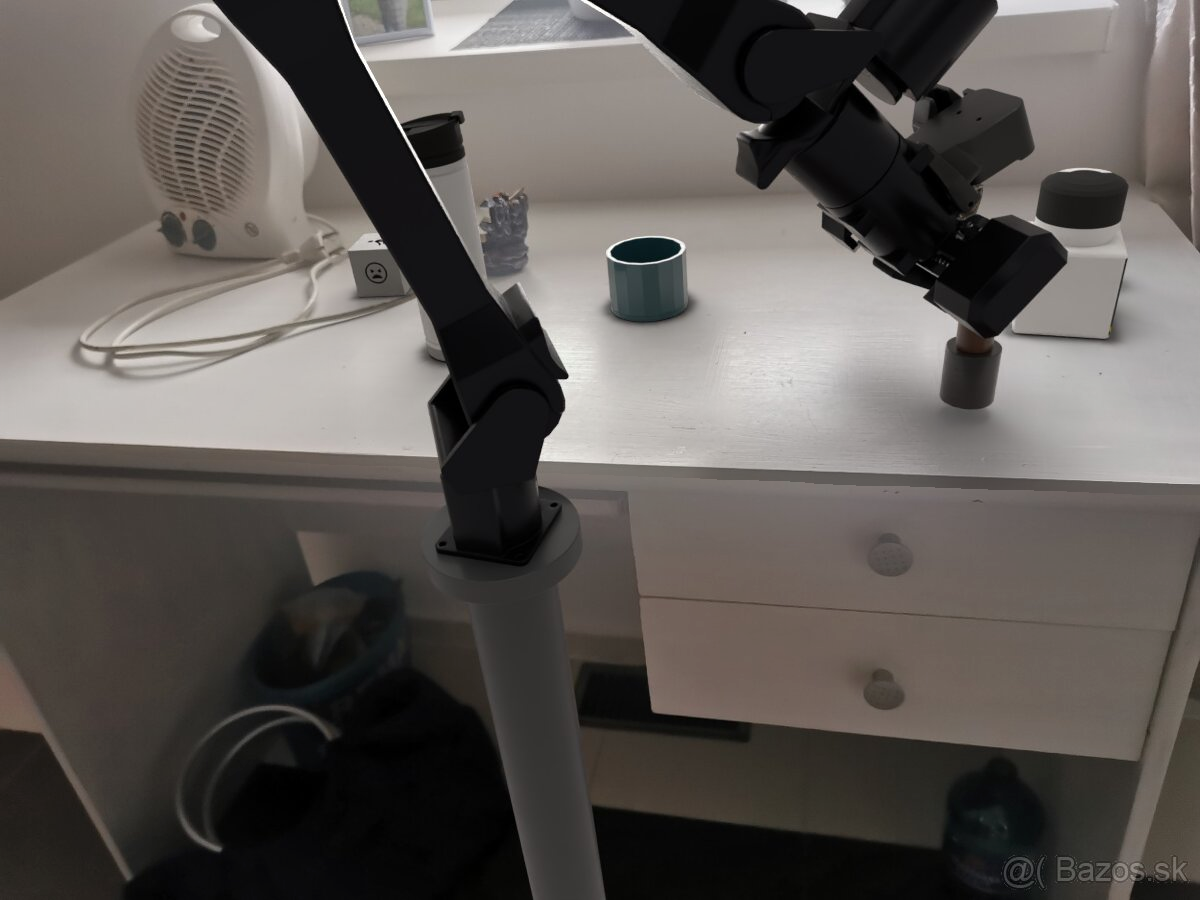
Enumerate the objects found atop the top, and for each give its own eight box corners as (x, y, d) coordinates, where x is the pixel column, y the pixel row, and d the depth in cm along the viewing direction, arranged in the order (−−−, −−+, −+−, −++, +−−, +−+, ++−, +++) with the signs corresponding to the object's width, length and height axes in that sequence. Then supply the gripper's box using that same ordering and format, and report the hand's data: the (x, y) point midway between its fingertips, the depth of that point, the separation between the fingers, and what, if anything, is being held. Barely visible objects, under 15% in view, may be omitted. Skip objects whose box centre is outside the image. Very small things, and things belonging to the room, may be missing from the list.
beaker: (676, 324, 82) (673, 266, 79) (600, 319, 84) (595, 262, 81) (696, 292, 87) (694, 237, 84) (625, 288, 90) (620, 234, 87)
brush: (994, 412, 62) (1019, 259, 56) (938, 407, 63) (957, 256, 57) (993, 387, 65) (1018, 238, 59) (940, 382, 66) (959, 236, 60)
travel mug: (497, 359, 79) (457, 121, 68) (422, 365, 79) (370, 129, 68) (504, 329, 84) (468, 103, 73) (434, 334, 84) (388, 111, 74)
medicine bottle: (1109, 340, 72) (1144, 189, 65) (1011, 334, 74) (1036, 188, 68) (1101, 304, 77) (1133, 161, 71) (1010, 299, 80) (1033, 161, 73)
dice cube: (405, 295, 93) (394, 248, 91) (359, 296, 94) (347, 250, 91) (419, 276, 97) (409, 231, 95) (374, 278, 98) (364, 233, 96)
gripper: (1070, 75, 43) (1205, 256, 51) (873, 29, 59) (1000, 174, 66) (904, 261, 46) (1056, 406, 54) (758, 171, 61) (892, 293, 69)
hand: (997, 307), depth 61 cm, fingers closed on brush, 2 cm apart
